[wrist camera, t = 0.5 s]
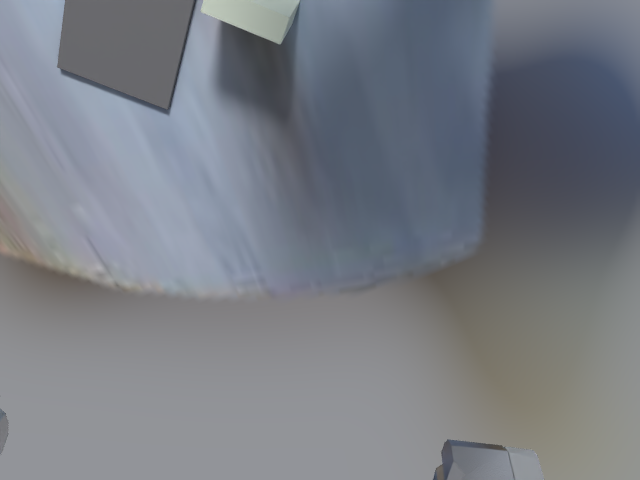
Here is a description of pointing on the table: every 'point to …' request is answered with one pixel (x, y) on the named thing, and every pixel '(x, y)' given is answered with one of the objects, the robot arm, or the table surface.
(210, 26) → the table surface
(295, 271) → the table surface
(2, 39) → the table surface
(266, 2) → the block
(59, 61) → the mat
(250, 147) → the table surface
